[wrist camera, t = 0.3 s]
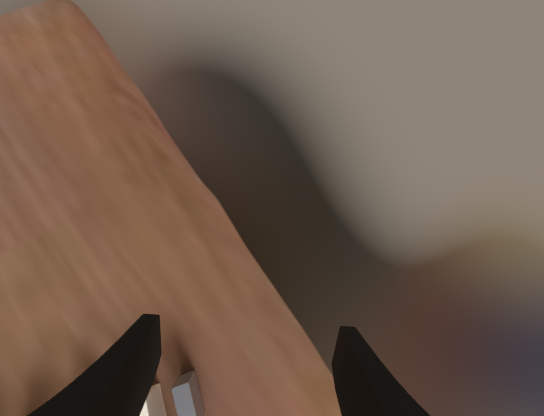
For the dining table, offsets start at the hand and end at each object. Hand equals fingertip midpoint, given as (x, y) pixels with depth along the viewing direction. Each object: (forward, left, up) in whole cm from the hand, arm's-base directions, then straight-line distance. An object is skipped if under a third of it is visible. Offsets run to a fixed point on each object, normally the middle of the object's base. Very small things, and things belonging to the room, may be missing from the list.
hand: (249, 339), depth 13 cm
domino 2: (-8, +3, -28) cm, 30 cm away
